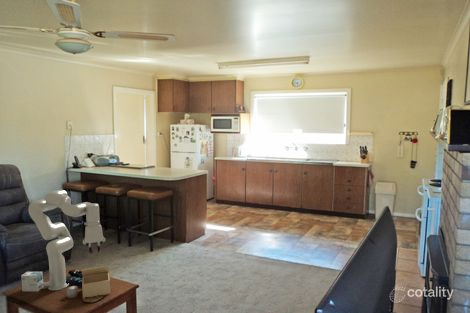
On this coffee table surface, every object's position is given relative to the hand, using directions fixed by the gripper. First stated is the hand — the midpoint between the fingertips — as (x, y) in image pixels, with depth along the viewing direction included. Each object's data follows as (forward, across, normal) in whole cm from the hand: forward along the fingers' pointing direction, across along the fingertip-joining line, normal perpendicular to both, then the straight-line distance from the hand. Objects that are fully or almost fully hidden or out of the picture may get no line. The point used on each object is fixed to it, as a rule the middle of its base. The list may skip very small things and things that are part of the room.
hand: (94, 252), depth 226 cm
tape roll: (+27, -14, +4) cm, 31 cm away
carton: (+27, 0, +4) cm, 27 cm away
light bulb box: (+28, -39, +24) cm, 53 cm away
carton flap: (+14, 0, +5) cm, 15 cm away
